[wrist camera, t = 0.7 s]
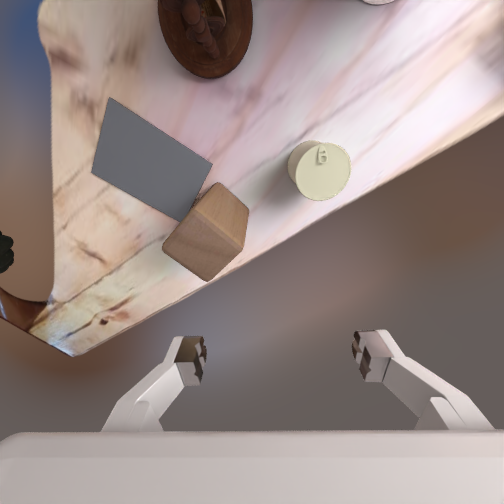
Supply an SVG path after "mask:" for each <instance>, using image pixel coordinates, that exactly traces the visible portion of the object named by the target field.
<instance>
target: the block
mask: <svg viewBox="0 0 504 504" xmlns="http://www.w3.org/2000/svg"><path fill="white" fill-rule="evenodd" d="M248 216H249V209H248V208H247V207H246V206H245V205H244V204H243V203H242V202H241V201H240V200H239V199H237V198H236V197H235V196H234V195H233V194H232V193H231V192H230V191H229V190H228V189H226V188H225V187H224V186H223V185H222V184H221V183H218V182H217V183H215V184H214V185H213V186H212V187H211V188H210V189H209V190H208V192H207V193H206V194H205V195H204V196H203V197H202V198H201V199H200V200H199V201H198V202H197V203H196V204H195V206H194V207H193V208H192V209H191V210H190V211H189V212H188V214H187V215H186V216H185V217H184V219H183V220H182V221H181V222H180V223H179V225H178V226H177V227H176V228H175V230H174V231H173V232H172V233H171V234H170V236H169V237H168V238H167V239H166V241H165V242H164V243H163V246H162V250H163V252H164V253H166V254H167V255H168V256H170V257H171V258H173V259H174V260H175V261H177V262H178V263H180V264H181V265H182V266H184V267H185V268H187V269H188V270H190V271H191V272H192V273H194V274H195V275H197V276H198V277H199V278H201V279H202V280H204V281H206V282H208V281H210V280H212V279H213V278H214V277H215V276H216V275H217V274H218V273H219V272H220V271H221V270H222V269H223V268H224V267H225V266H226V265H227V264H229V263H230V262H231V261H232V260H233V259H234V258H235V257H236V256H237V255H238V254H239V253H240V252H241V251H242V250H243V247H244V242H245V235H246V229H247V222H248Z"/></svg>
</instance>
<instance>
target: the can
mask: <svg viewBox="0 0 504 504" xmlns="http://www.w3.org/2000/svg"><path fill="white" fill-rule="evenodd" d="M288 174H289V176H290V178H291V180H292V181H293V182H294V183H295V184H296V185H297V188H298V189H299V191H300V192H301V193H302V194H303V195H304V196H305V197H307V198H308V199H311V200H315V201H323V200H327V199H330V198H332V197H334V196H336V195H337V194H338V193H340V192H341V191H342V190H343V188H344V187H345V186H346V184H347V182H348V180H349V178H350V174H351V161H350V158H349V156H348V154H347V152H346V151H345V150H344V149H343V148H342V147H340V146H338V145H336V144H333V143H321V142H318V141H306V142H303V143H301V144H300V145H298V146H297V147H296V148H295V149H294V150H293V152H292V153H291V155H290V157H289V160H288Z"/></svg>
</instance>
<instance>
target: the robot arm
mask: <svg viewBox="0 0 504 504" xmlns="http://www.w3.org/2000/svg"><path fill="white" fill-rule="evenodd" d="M363 1H365V2H367V3H370V4H385V3H389V2H392V1H394V0H363ZM354 338H355V340H354V341H353V342H352V352H353V356H354V359H355V361H356V362H358V363H359V364H360V367H359V370H360V372H361V374H362V377H363V379H364V381H365V382H383V384H384V385H385V386H386V387H387V388H389V389H390V390H391V391H392V392H393V393H394V394H395V395H396V396H397V397H398V398H399V399H400V400H401V401H402V402H403V403H405V405H406V406H407V407H408V408H410V409H411V410H412V411H413V412H414V413H415V414H416V415H417V416H418V417H419V418H420V419H419V421H418V423H417V425H416V427H415V429H414V430H379V431H378V430H375V431H374V430H369V431H367V430H366V431H364V430H363V431H217V432H216V431H215V432H214V431H213V432H210V431H209V432H164V431H163V429H162V426H161V425H160V423H159V421H158V419H159V418H160V417H161V415H162V414H163V413H164V412H165V410H166V409H167V408H168V406H169V405H170V404H171V403H172V402H173V400H174V399H175V398H176V397H177V395H178V394H179V393H180V392H181V390H182V389H183V388H184V386H188V385H200V384H201V380H202V375H203V370H202V367H203V366H204V365H205V363H206V356H207V350H206V346H205V345H204V338H203V336H176V337H175V338H174V339H173V341H172V343H171V345H170V348H169V350H168V352H167V355H166V357H165V359H164V361H163V363H161V364H159V365H158V366H157V367H156V368H154V369H153V370H152V371H151V372H150V373H149V374H148V375H147V376H145V377H144V378H143V379H142V380H141V381H140V382H139V383H138V384H136V385H135V386H134V387H133V388H132V389H131V390H129V391H128V392H127V393H126V394H125V395H124V396H123V397H122V398H120V399H119V400H118V402H117V403H116V405H115V407H114V409H113V411H112V412H111V414H110V416H109V418H108V420H107V422H106V423H105V426H104V427H103V429H102V431H101V432H60V433H57V432H55V433H54V432H53V433H51V432H49V433H17V434H14V435H11V436H9V437H8V438H6V439H4V440H3V441H1V442H0V504H504V430H495V429H494V428H493V426H492V425H491V424H490V423H489V422H488V420H487V419H486V418H485V417H484V415H483V414H482V413H481V412H480V411H479V409H478V408H477V407H476V406H475V405H474V403H473V402H472V401H471V400H470V398H469V397H468V396H467V395H465V394H464V393H462V392H461V391H459V390H458V389H456V388H455V387H453V386H452V385H450V384H449V383H447V382H446V381H444V380H443V379H441V378H439V377H438V376H437V375H435V374H433V373H432V372H430V371H429V370H427V369H426V368H424V367H423V366H421V365H420V364H418V363H417V362H415V361H414V360H412V359H411V358H409V357H405V356H404V354H403V353H402V351H401V350H400V348H399V347H398V346H397V344H396V343H395V341H394V340H393V338H392V337H391V335H390V334H389V332H388V331H387V330H362V331H355V332H354Z"/></svg>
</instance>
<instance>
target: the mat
mask: <svg viewBox="0 0 504 504" xmlns="http://www.w3.org/2000/svg"><path fill="white" fill-rule="evenodd" d="M212 165H213V164H212V163H210V162H209V161H207V160H205V159H204V158H202V157H201V156H199V155H198V154H196V153H195V152H193V151H192V150H190V149H189V148H187V147H186V146H184V145H182V144H181V143H179V142H178V141H176V140H175V139H173V138H172V137H170V136H169V135H167V134H166V133H164V132H163V131H161V130H159V129H158V128H156V127H155V126H153V125H152V124H150V123H149V122H147V121H146V120H144V119H143V118H141V117H139V116H138V115H136V114H135V113H133V112H132V111H130V110H129V109H127V108H126V107H124V106H123V105H121V104H120V103H118V102H116V101H115V100H113V99H112V98H109V99H108V104H107V108H106V112H105V116H104V121H103V125H102V129H101V133H100V137H99V142H98V146H97V150H96V154H95V158H94V163H93V167H92V171H91V173H93V174H95V175H96V176H98V177H100V178H102V179H104V180H105V181H107V182H109V183H111V184H113V185H114V186H116V187H118V188H120V189H122V190H123V191H125V192H127V193H129V194H130V195H132V196H134V197H136V198H138V199H139V200H141V201H143V202H145V203H147V204H148V205H150V206H152V207H154V208H156V209H157V210H159V211H161V212H163V213H165V214H166V215H168V216H170V217H172V218H173V219H175V220H177V221H179V222H181V221H182V220H183V219H184V217H185V216H186V215H187V214H188V212H189V210H190V208H191V206H192V204H193V202H194V200H195V198H196V196H197V195H198V193H199V191H200V189H201V187H202V185H203V183H204V181H205V179H206V177H207V175H208V173H209V171H210V169H211V167H212Z"/></svg>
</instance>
